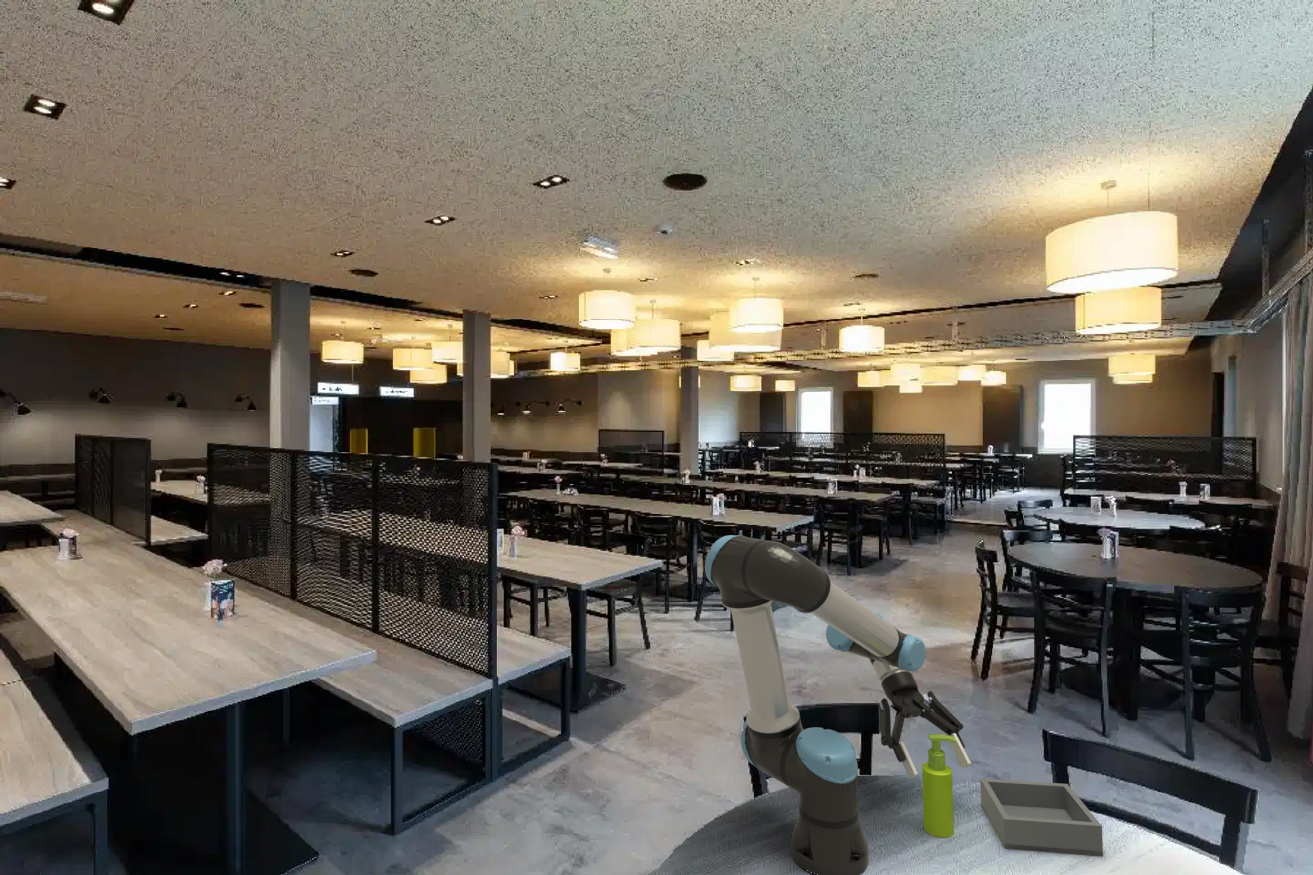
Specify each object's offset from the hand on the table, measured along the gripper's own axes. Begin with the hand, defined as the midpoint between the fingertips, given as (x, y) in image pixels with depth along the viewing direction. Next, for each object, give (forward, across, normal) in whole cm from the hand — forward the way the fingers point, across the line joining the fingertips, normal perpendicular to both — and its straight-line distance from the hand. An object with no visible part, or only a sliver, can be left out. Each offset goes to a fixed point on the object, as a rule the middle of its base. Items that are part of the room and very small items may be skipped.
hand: (940, 771), depth 142 cm
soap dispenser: (+9, +1, -8) cm, 12 cm away
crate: (+14, -18, -3) cm, 23 cm away
